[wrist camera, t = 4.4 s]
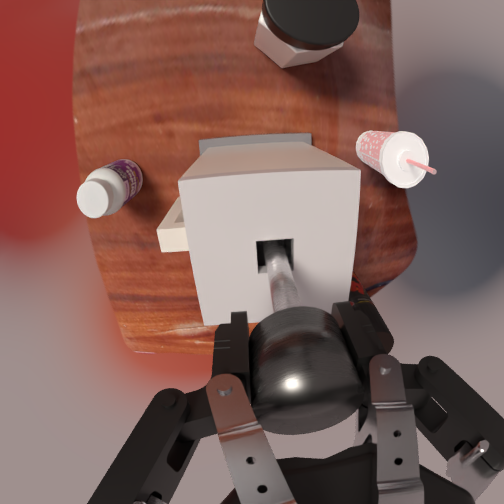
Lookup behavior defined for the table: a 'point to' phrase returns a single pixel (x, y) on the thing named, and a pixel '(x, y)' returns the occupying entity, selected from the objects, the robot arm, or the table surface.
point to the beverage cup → (395, 156)
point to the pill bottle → (109, 188)
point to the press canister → (264, 222)
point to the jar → (304, 29)
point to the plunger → (298, 357)
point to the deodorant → (369, 312)
